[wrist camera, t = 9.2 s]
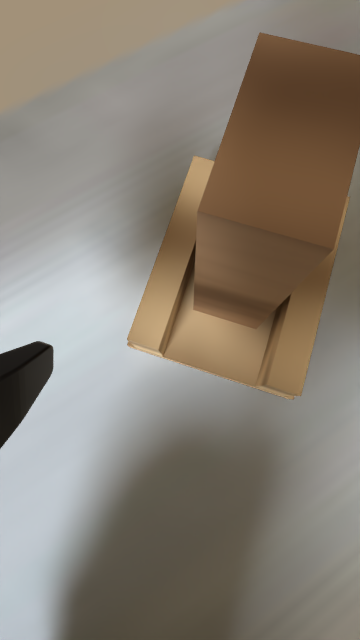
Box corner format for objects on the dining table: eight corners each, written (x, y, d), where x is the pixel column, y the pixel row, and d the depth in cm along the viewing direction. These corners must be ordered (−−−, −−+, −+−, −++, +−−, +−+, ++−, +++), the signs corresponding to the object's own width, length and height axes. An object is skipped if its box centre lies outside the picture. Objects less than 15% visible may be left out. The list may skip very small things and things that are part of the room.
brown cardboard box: (255, 329, 18) (333, 249, 8) (193, 309, 18) (197, 210, 9) (284, 230, 19) (381, 59, 10) (224, 213, 20) (259, 32, 10)
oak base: (289, 399, 18) (312, 399, 15) (129, 347, 19) (116, 335, 15) (331, 233, 20) (360, 199, 17) (185, 193, 21) (184, 153, 17)
